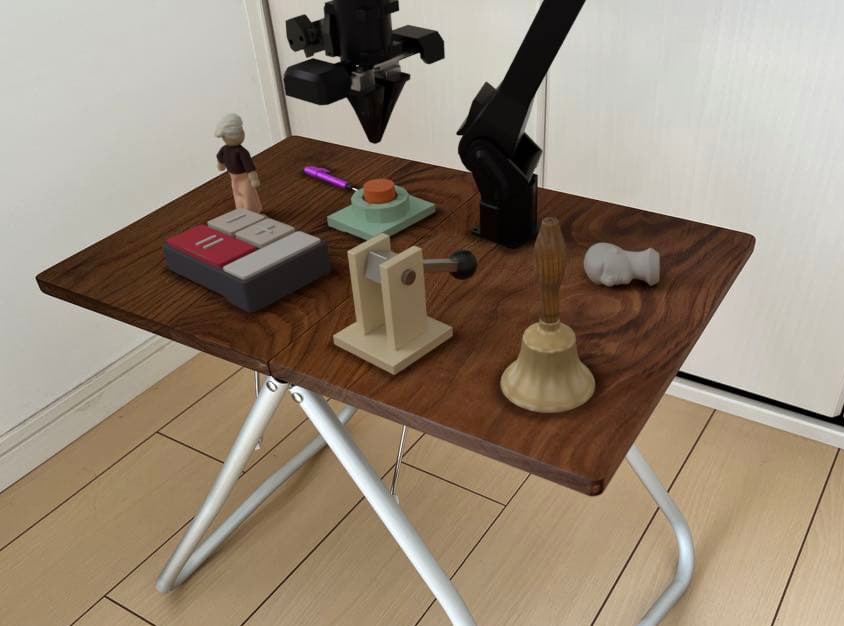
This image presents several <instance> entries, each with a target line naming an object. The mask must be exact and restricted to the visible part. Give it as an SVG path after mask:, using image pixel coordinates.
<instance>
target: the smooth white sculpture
mask: <svg viewBox="0 0 844 626" xmlns="http://www.w3.org/2000/svg"><path fill="white" fill-rule="evenodd" d="M583 268H584V272H585V274H586V276H587V278H588V279H589V280H590V281H591V282H592V283H594V284H595V285H597V286H601V285H604V286H606V287H608V288H609V287H610V288H611V287H613V286H618V285H628V284H630V283H631V281H632V280H639V281H644V282H645V283H647V285H649V286H650V287H652V286H654V285H656V284H658V283H660V275H661V274H660V273H661V270H660V269H661V256H660V253H659V252H658V251H657V250H655V249H654V248H653V247H649V248H648V249H647V248H646V249H645V250H641V251H631V250H624V249H623V248H621V247H619V246H617V245H615V244H613V243H610V242H609V243H608V242H598V243H595V244H592V246H590V247H589V248H588V249H587V251H586V253H585V255H584V259H583Z"/></svg>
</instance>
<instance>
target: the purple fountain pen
mask: <svg viewBox="0 0 844 626" xmlns="http://www.w3.org/2000/svg"><path fill="white" fill-rule="evenodd" d="M303 171H304V174H305V175H306V176H307V175H308V176H310V177H313V178H314V179H319V180H322V181H324V182H326V183H329V184H331V185H334V186H336V187H339V188H341V189H344V190H347V191H352V190H353V191H354V192H356V191H358V190H359V189H358V188H355V186H354V185H353V184H351V183H350V182H348V181H346V180H343V179H341V178H338V177H336V176H333V175H331V174H328V173H331V170H328V169H326V168H323V167H317V166H314V165H310V166H306V167H305V168H304V170H303Z"/></svg>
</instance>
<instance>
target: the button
mask: <svg viewBox="0 0 844 626" xmlns="http://www.w3.org/2000/svg"><path fill="white" fill-rule="evenodd" d="M395 185H396V184H395V183H394V181H392V180H390V179H387V178H375V179H374V178H373V179H371V180H368V181H365V183H364V184H363V187H362V188H363V189H364V198H365V202H367V203H370V204H384V203H389V202H391V201H393V200H395V198H396V196H395Z"/></svg>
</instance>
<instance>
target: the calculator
mask: <svg viewBox="0 0 844 626" xmlns="http://www.w3.org/2000/svg"><path fill="white" fill-rule="evenodd" d="M260 214H261V213H260ZM260 214H257V213H254V212H252V211H249V210H246V209H244V208H238V209H234V210H231V211H229V212H227V213H224V214H222V215H220V216H217V217H215V218H213V219H211V220H209V221H207V224H206V225H205V224H199V225H196V226H194V227H192V228H190V229H188V230H184V231H183V232H180V233H178V234H176V235H173V236H171V237H169V238H167V239H166V243H165V242H164V243H163V244H161V245H162V246H161V247H162V250H163V254H164V258H165V261H166V264H167V268H168V269H169V270H170V271H171V272H174V273H175V274H177V275H179V276H181V277H184V278H185V279H187V280H190V281H192V282H194V283H196V284H197V285H200V286H202V287H204V288H206V289H208V290H210V291H212V292H214V293H217V294H219V295H221V296H223V298H224V299H225V300H226V301H227V302H228V303H230V304H232V305H234V306H235V307H236V308H239V309H241V310H243V311H245V312H247V313H248V314H255V313H256V312H258V311H260V310H262V309H264V308H266V307H267V306H270V305H271V304H273V303H275V302H277V301H279V300H281V299H283V298H284V297H287V296H288V295H291V294H292V293H294V292H296V291H298V290H300V289H302V288H304V287H305V286H307V285H309V284H311V283H313V282H315V281H317V280H319V279H321V278H322V277H325V276H326V275H328V274H331V272H332V264H331V259H330V254H329V249H328V242H327V241H326V240H324V239H321V238H319V237H316V236H314V235H311V234H308V233H307V232H303V231H301V230H298V229H296V228H295V227H294V226H292V225H289V224H287V223H284V222H281V221H279V220H276V219H273V218H271V217H268V219H266V218H265V217H264V216H262V215H260Z"/></svg>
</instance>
